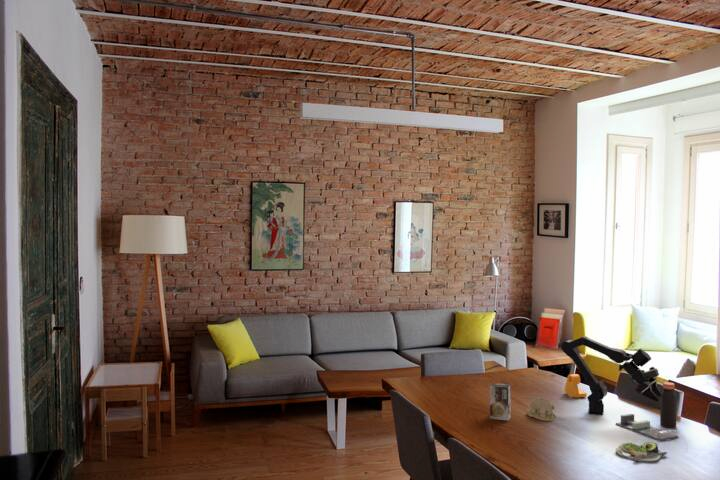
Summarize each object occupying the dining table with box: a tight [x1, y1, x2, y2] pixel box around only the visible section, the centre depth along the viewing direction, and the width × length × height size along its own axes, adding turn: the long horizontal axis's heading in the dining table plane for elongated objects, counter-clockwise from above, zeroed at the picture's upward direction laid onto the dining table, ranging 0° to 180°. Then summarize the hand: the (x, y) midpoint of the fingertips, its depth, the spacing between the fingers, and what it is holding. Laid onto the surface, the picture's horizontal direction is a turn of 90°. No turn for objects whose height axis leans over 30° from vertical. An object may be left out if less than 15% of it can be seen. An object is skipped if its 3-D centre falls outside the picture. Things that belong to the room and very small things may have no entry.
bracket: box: [564, 373, 588, 398], centre depth 335 cm, size 11×7×12 cm, turn 13°
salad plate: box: [615, 441, 668, 463], centre depth 246 cm, size 19×18×5 cm
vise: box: [615, 420, 679, 442], centre depth 276 cm, size 24×11×3 cm, turn 24°
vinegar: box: [659, 381, 678, 429], centre depth 284 cm, size 7×7×20 cm
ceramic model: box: [526, 396, 556, 422], centre depth 297 cm, size 14×11×10 cm
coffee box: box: [489, 382, 512, 421], centre depth 294 cm, size 9×6×16 cm
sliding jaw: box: [620, 413, 651, 429], centre depth 282 cm, size 10×9×4 cm
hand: (659, 399), depth 286 cm, fingers open, 9 cm apart
